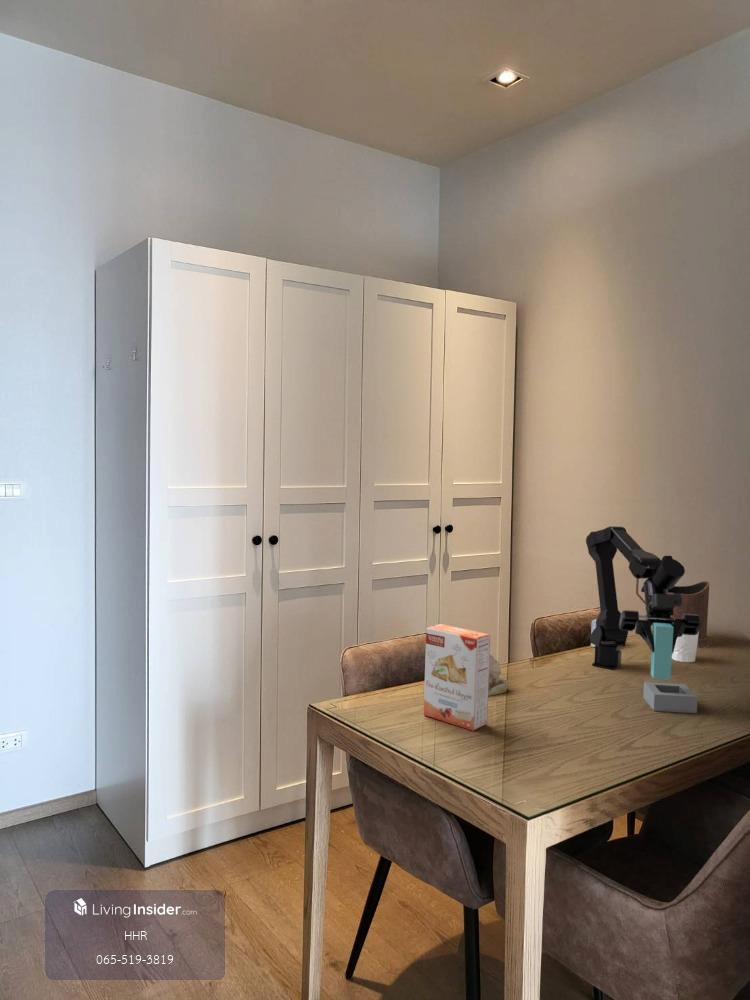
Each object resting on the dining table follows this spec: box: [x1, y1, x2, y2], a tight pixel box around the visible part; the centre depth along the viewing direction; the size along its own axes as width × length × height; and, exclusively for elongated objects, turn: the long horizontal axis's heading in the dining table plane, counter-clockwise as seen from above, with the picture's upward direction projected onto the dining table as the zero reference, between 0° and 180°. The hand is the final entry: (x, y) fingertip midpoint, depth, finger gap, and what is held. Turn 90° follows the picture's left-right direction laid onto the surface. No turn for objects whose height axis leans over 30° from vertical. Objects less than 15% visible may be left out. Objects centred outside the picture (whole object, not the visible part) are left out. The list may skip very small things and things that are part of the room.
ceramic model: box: [488, 653, 509, 697], centre depth 198 cm, size 14×11×10 cm
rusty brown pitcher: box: [635, 578, 711, 649], centre depth 255 cm, size 18×24×25 cm
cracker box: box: [423, 623, 491, 732], centre depth 174 cm, size 14×6×21 cm, turn 49°
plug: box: [650, 623, 673, 681], centre depth 188 cm, size 4×4×13 cm
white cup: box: [672, 631, 699, 663], centre depth 232 cm, size 8×8×10 cm
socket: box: [642, 681, 698, 714], centre depth 189 cm, size 10×10×4 cm
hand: (662, 652), depth 187 cm, fingers closed on plug, 4 cm apart
